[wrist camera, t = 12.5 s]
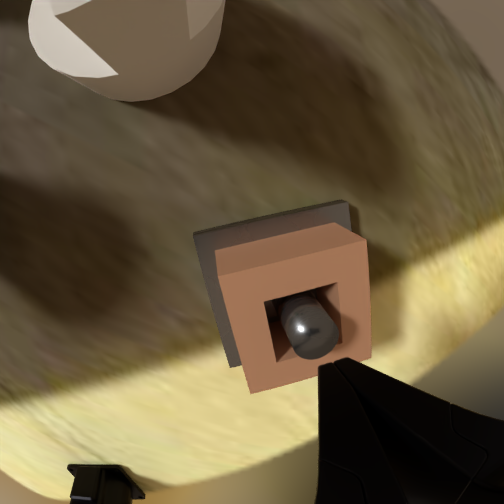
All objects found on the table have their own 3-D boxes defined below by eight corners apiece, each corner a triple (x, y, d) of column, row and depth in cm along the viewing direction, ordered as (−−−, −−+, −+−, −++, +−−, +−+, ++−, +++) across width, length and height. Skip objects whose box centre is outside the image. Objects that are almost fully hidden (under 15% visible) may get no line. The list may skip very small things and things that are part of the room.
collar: (345, 324, 20) (371, 357, 16) (241, 353, 20) (250, 394, 16) (334, 222, 18) (366, 239, 14) (214, 250, 18) (217, 276, 14)
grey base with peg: (353, 325, 22) (397, 379, 15) (228, 359, 21) (239, 428, 15) (341, 199, 19) (400, 220, 13) (193, 232, 18) (188, 271, 12)
